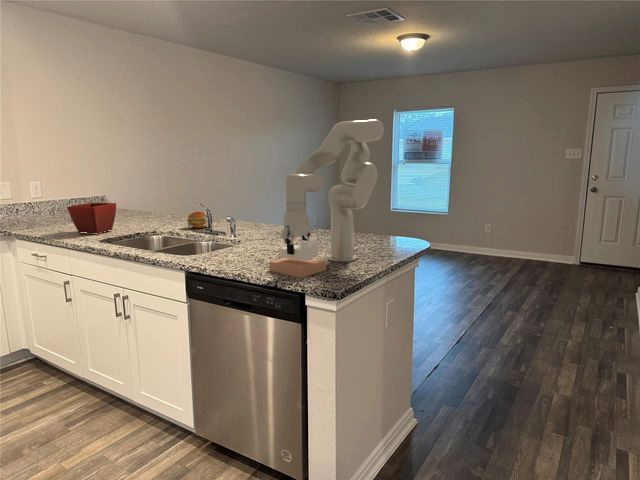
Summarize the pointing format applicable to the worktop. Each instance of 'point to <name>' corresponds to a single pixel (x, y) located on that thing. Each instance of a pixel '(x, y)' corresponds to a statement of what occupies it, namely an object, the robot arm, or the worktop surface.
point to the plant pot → (93, 217)
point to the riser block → (297, 266)
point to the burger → (196, 220)
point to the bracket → (302, 250)
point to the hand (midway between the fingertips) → (297, 251)
